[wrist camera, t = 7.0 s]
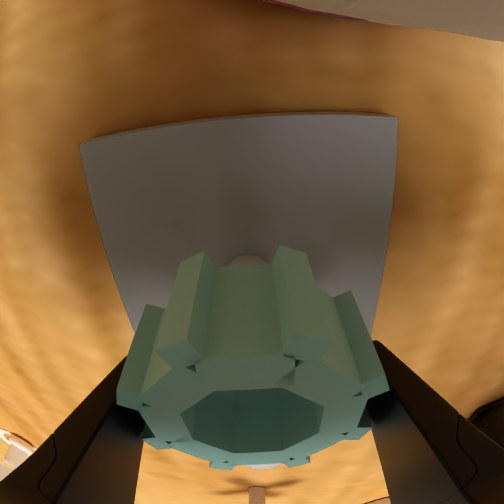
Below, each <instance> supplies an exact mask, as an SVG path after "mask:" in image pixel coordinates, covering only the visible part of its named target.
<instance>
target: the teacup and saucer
mask: <svg viewBox="0 0 504 504" xmlns="http://www.w3.org/2000/svg"><path fill="white" fill-rule="evenodd" d="M3 433H7V434H10V435H11V436H10V437H9V441H10V442H9V441H8V440H7V439H6V438H5V437H4V435H3ZM0 437H1V438H2V439H3V440H4V441H5V442H7V443H8V444H9V445H10V447H9V448H8V450H7V453H6V455H5V457H4V461H5V462H6V463H7V464H9V465H10V466H12V467H13V468H15V469H16V468H17V467H18V466H19V465H20V464H22V463H23V462H24V461H25V460H26V459H27V455H28V456H30V455H32V454H33V452H34V450H35V451H36V450H37V449H36V448H35V447H33V446H32V445H31V444H29V443H28V442H26V441H24V440H23V439H21V438H19V437H18V436H16V435H14V434H12V433H10V432H8V431H6V430H3V429H0ZM33 449H34V450H33Z"/></svg>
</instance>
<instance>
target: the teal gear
mask: <svg viewBox="0 0 504 504" xmlns="http://www.w3.org/2000/svg"><path fill="white" fill-rule="evenodd" d="M386 391H389V386H388V382H387V379H386V375H385V373H384V370H383V367H382V365H381V362H380V360H379V357H378V354H377V352H376V349H375V347H374V344H373V342H372V339H371V337H370V335H369V332H368V330H367V327H366V325H365V322H364V320H363V318H362V315H361V313H360V311H359V308H358V306H357V304H356V301H355V299H354V297H353V294H352V292H351V290H349V291H347V292H345V293H342V294H340V295H338V296H335V297H332V296H330V295H329V294H328V293H326V292H325V291H324V290H323V289H321V288H320V287H319V286H317V285H316V282H315V279H314V276H313V273H312V270H311V267H310V264H309V260H308V257H307V254H306V253H305V252H301V251H298V250H295V249H291V248H288V247H284V246H281V245H279V248H278V250H277V252H276V255H275V257H274V259H273V262H272V263H267V264H252V265H238V266H223V267H215V265H214V264H213V262H212V261H211V259H210V258H209V256H208V255H207V253H206V252H205V251H203V252H200V253H198V254H196V255H194V256H192V257H190V258H188V259H186V260H184V261H181V263H180V266H179V270H178V273H177V276H176V279H175V282H174V286H173V289H172V292H171V295H170V299H169V302H168V305H167V306H166V307H165V308H161V307H157V306H154V305H150V304H147V303H146V306H145V308H144V311H143V314H142V316H141V319H140V322H139V324H138V327H137V330H136V333H135V336H134V338H133V341H132V344H131V347H130V350H129V353H128V356H127V359H126V362H125V364H124V367H123V371H122V374H121V377H120V380H119V383H118V386H117V405H120V406H124V407H127V408H131V409H134V410H138V411H139V412H140V414H141V416H142V417H143V419H144V420H145V422H146V423H145V426H144V430H143V435H142V440H144V441H145V442H147V443H148V444H150V445H151V446H153V447H154V448H156V449H157V450H160V449H169V448H173V449H176V450H179V451H181V452H184V453H187V454H190V455H193V456H196V457H199V458H202V459H205V460H208V461H210V465H209V467H210V468H217V469H224V470H232V469H233V468H234V467H235V466H236V465H258V464H275V463H284V464H285V465H286V466H288V467H294V466H298V465H302V464H306V463H310V455H312V454H314V453H316V452H319V451H321V450H323V449H325V448H327V447H329V446H331V445H333V444H335V443H337V442H339V441H341V440H359V439H360V438H361V437H362V436H364V435H365V434H366V433H367V432H368V431H369V430H370V429H372V428H373V427H372V423H371V420H370V416H369V414H368V411H367V408H366V402H367V400H368V399H369V398H372V397H374V396H377V395H379V394H382V393H384V392H386Z"/></svg>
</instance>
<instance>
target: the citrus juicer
mask: <svg viewBox="0 0 504 504" xmlns="http://www.w3.org/2000/svg"><path fill="white" fill-rule="evenodd" d="M261 1H265V2H269V3H273V4H277V5H281V6H285V7H289V8H293V9H296V10H300V11H303V12H307V13H313V14H320V15H326V16H332V17H338V18H344V19H349V20H355V21H372V22H376V23H380V24H388V25H399V26H408V27H417V28H424V29H431V30H438V31H445V32H451V33H457V34H463V35H468V36H473V37H478V38H482V39H487V40H496V41H504V0H261Z"/></svg>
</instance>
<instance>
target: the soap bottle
mask: <svg viewBox="0 0 504 504" xmlns="http://www.w3.org/2000/svg"><path fill="white" fill-rule="evenodd" d="M367 504H391V502H390V498H389V497H388V498H384V499H380V500H376V501H373V502H370V503H367Z"/></svg>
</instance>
